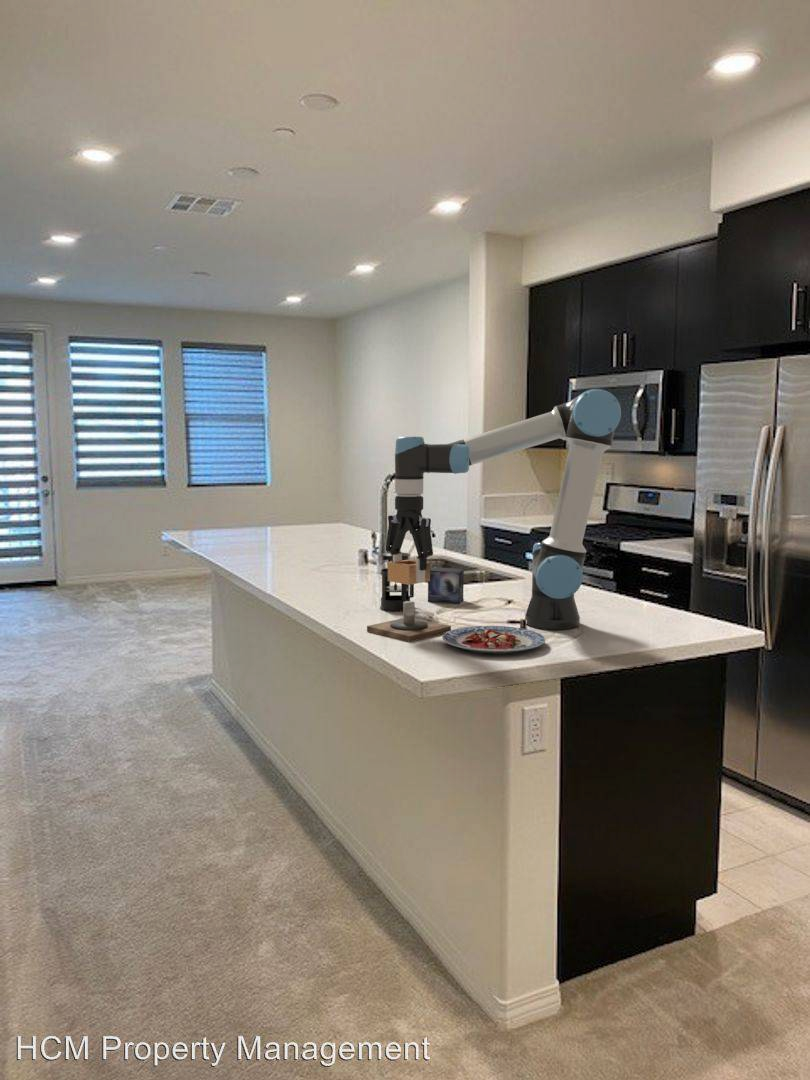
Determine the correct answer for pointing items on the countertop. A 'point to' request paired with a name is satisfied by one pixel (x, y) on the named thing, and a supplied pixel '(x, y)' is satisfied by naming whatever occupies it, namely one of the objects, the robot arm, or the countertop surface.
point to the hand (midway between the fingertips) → (408, 580)
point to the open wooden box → (405, 572)
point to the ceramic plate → (493, 639)
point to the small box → (446, 585)
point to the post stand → (408, 626)
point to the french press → (394, 589)
